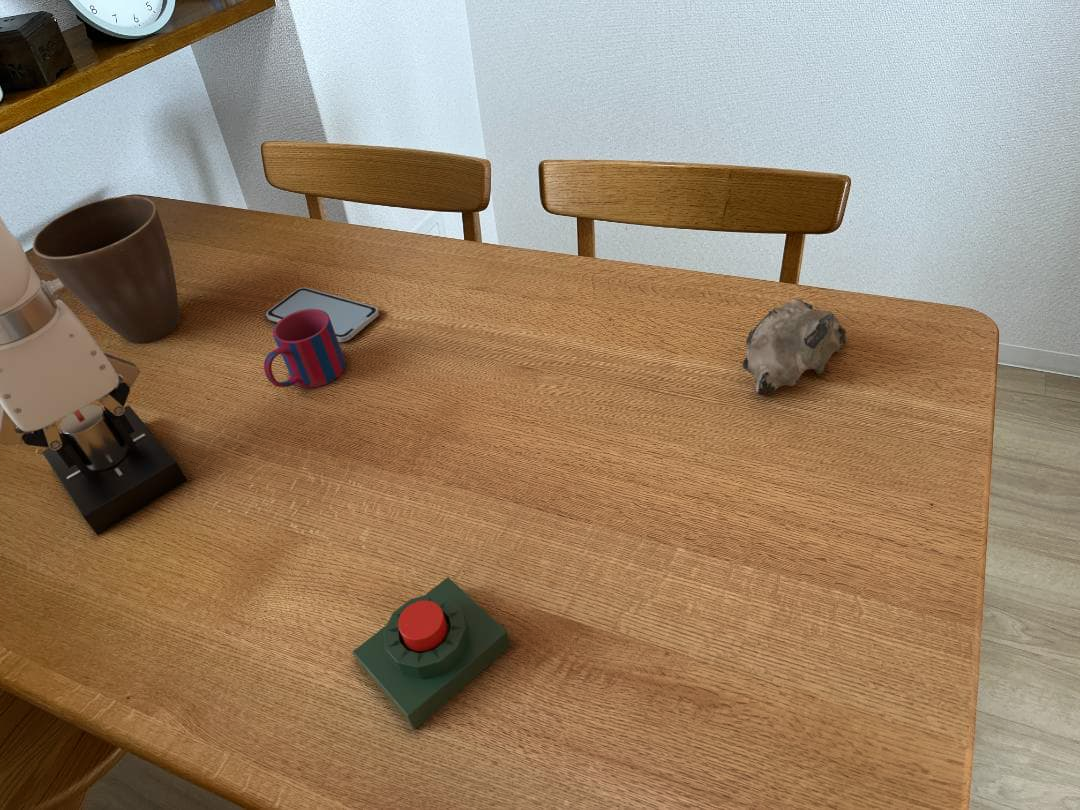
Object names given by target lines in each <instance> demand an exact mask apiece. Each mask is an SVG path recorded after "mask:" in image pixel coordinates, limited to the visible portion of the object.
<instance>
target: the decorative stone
mask: <svg viewBox="0 0 1080 810" xmlns="http://www.w3.org/2000/svg"><path fill="white" fill-rule="evenodd" d="M846 333H847V331H846V329H845V328H844V327H842V325H841V323H840V321H839V320H838V318H837V316H836V315H835V314H834V312H832V311H828V310H822V309H821V310H820V309H815V308H814V305H813V304H810V303H808V302H806V301H805V302H804V300H803V299H800V298H794V299H793V300H791V301H790V302H786V303H784V304H782V305H781V306H780V307H775V308H772V309H771V310H770V311H769V312H768V313H767V314H766V315H765V316H764V317H763V319H761V320H760V322H759V323H758V324H757V325H756V326H755V327H754V328H753V329H752V330H750V331H749V333H748V336H747V337H746V340H745V346H746V355H745V359H743V362H742V364H741V366H742V368H743V369H744V370H745V371H747V372H748V373H750V375H752V376H753V378H754V381H755V393H756V394H757V395H759V396H760V397H764V396H768V395H772V394H773V393H775V391H776V390H777V389H778V388H780V387H781V386H788V387H789V386H790V387H794V386H795V385H797V384H798V382H799V380H800V378H801V376H802V375H803V374H804V372H805V371H806V370H813V371H814V373H815V374H817V375H821V374H823V372H824V371H825V367H826V364H827V363H828V362H829V360H830V358H831V356H832V355H833V354H834V353H835V352H839V351H840V350H841V349H842V348H843V347H844V345H845V344H846V343H847V341H846V340H847V335H846Z"/></svg>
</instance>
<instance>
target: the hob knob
mask: <svg viewBox="0 0 1080 810" xmlns="http://www.w3.org/2000/svg"><path fill="white" fill-rule="evenodd" d="M104 410H105V409H104V407H102V406H100V405H97V404H88V405H86V406H85V407H83V408H81V409H79V410H77V411H75V412H73V413H71V414H69V415H68V416H66V417H64V418H62V419H61V422H60V424H59V430H60V433H63V435H64V436H65V437H66V439H67V440H68V442H69V443H70V444H71V446H72V447H73V449H74V450H75V451H76V453H77V454H78V456H79V457H80V458H81V460H82V461H83V462H84V464H85V465H86V467H87V468H88V469H90V470H93V471H101V470H105V469H108V468H111V467H113V466H114V465H116V464H118V463H119V462H120V461H121V460H122V459H123V458H124V457H125V456H126V454H127V451H128V447H127V445H126V443H125V442H124V440H123V439H122V437H121V436H120V434H119V433H118V431H117V430H116V428H115V426H114V425H113V423H112V422H111V420H110V419H109V417H108V416H107V414H106V413H105V411H104Z"/></svg>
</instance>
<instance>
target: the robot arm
mask: <svg viewBox="0 0 1080 810" xmlns="http://www.w3.org/2000/svg"><path fill="white" fill-rule="evenodd" d="M64 292H67V288H66V287H65V286H64V285H63V284H62V282H61V281H60V279H59V278H55V279H53V280H52V281H51V280H47V281H46V280H44V279H40V277H39V276H38V273H37V272H36V271H35V269H34V267H33V266H32V265H31V263H30V261H29V259H28V256H27V254H26V252H25V249H24V248H23V246H22V245H21V243H20V241H19V240H18V239H17V237H16V236H15V235H14V234H13V233H12V232H11V231H10V229H9V228H8V226H7V225H6V223H5V222H4V220H3V218H2V217H1V216H0V445H1V446H12V445H13V446H14V445H26V446H31V447H41V448H48V449H49V448H50V449H51V450H56V451H57V453H58V454H59V455H60V457H61V458H62V459H63V461H64V462H65V464H66V465H67V466H68V468H70V467H72V466H74V465H76V466H77V467H78V469H79V470H80V471H81V473H82V474H83V473H85V472H87V470H88V468H87V467H86V465H85V464H84V462H83V461H82V460H81V458H80V457H79V456H78V454H77V453H76V451H75V450H74V449H73V447H72V446H71V444H70V443H69V442H68V440H67V439H66V437H65V436H64V435H63V433H62V432H61V431H59V429H58V426H57V421H60V420H63V419H64V418H65V417H66V416H68V415H69V414H71V413H73V412H75V411H77V410H79V409H81V408H83V407H85V406H88V405H91V404H92V403H94V402H96V401H97V402H98V403H99V404H101V405H102V406H103V410H104V411H105V413H106V414H107V416H108V417H109V419H110V420H111V422H112V423H113V425H114V426H115V428H116V430H117V431H118V433H119V434H120V436H121V437H122V439H123V440H124V442H125V443H126V444H127V445H128V447H129V446H133V445H135V443H134V441H133V440H132V438H131V436H130V435H129V434H131V433H133V432H135V430H134V429H133V427H132V426H131V424H130V422H129V421H128V419H127V418H126V416H125V415H124V412H125V408H124V407H125V404H126V402H127V399H128V397H129V395H130V392H131V387H132V386H133V385H134V384H135V381H136V380H137V378H138V376H139V375H140V373H141V370H140V369H139V367H138V366H137V365H136V364H135V363H133V362H131V361H129V360H125V359H123V358H119V357H116V356H114V355H111V354H108V353H106V352H104V351H103V350H102V348H101V346H99V344H98V343H97V341H96V340H95V338H94V337H93V336H92V335H91V333H90V332H89V331H88V329H87V328H86V326H85V325H84V323H83V322H82V321H81V320H80V319H79V317H78V316H77V315H76V314H75V313H74V311H72V309H71V308H70V307H69V306H68V305H67V304H66V303H65V302H64V301H63V300H61V299H58V298H57V297H59V296H60V294H62V293H64Z"/></svg>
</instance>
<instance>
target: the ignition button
mask: <svg viewBox="0 0 1080 810" xmlns="http://www.w3.org/2000/svg"><path fill="white" fill-rule="evenodd" d="M398 627H399V631H400V633H401V635H402V637H403V640H404V642H405V644H406V645H407V646H408V647H409V648H410V649H412V650H415V651H420V652H423V651H428V650H431V649H434V648H435V647H437V646H438V645H439V644H440V643H441V642H442V641H443V640H444V638H445V636H446V634H447V623H446V620H445V617H444V614H443V612H442V609H441V608H440V606H439V605H437V604H436V603H434V602H432V601H418V602H415V603H413V604H411V605H409V606H408V607H407V608H406V609H405V610H404V611H403V612H402V614H401V615H400V618H399V622H398Z"/></svg>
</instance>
